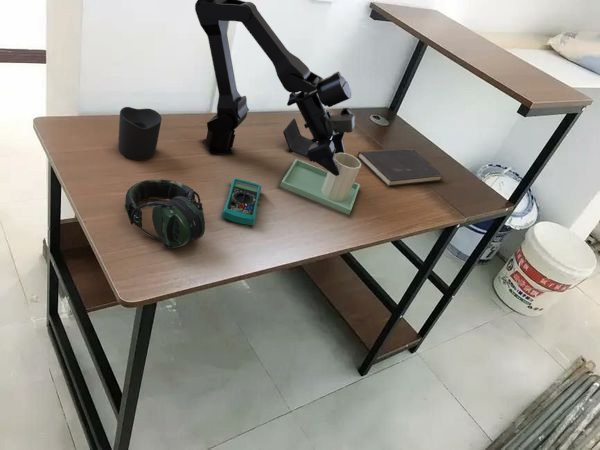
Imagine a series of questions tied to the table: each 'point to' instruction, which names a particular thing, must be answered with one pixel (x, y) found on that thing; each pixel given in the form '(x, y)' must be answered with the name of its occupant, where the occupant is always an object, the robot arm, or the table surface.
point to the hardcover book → (399, 167)
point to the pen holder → (138, 132)
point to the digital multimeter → (242, 202)
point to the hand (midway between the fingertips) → (341, 167)
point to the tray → (315, 185)
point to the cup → (341, 177)
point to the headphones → (167, 210)
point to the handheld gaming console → (296, 139)
